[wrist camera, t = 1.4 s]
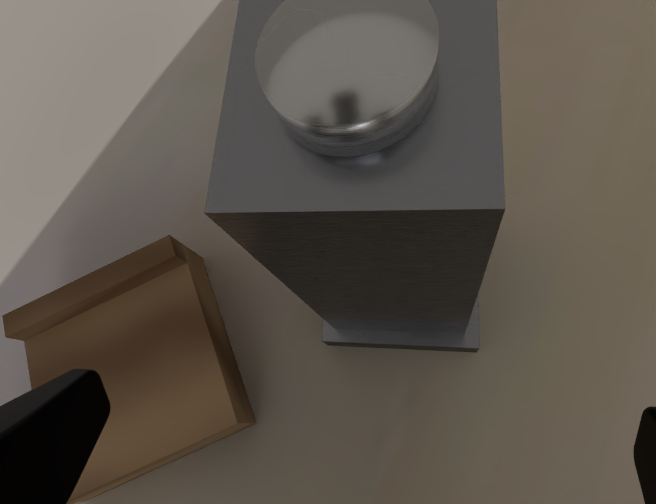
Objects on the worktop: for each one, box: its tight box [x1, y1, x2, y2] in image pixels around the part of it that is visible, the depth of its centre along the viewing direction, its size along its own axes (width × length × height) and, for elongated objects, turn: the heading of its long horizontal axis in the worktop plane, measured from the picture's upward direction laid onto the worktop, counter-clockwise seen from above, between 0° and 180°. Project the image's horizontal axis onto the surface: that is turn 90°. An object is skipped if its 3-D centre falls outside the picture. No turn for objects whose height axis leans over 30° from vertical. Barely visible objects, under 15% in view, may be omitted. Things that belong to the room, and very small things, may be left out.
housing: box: [204, 0, 505, 352], centre depth 14 cm, size 6×6×14 cm
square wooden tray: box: [3, 235, 256, 504], centre depth 20 cm, size 8×8×3 cm
